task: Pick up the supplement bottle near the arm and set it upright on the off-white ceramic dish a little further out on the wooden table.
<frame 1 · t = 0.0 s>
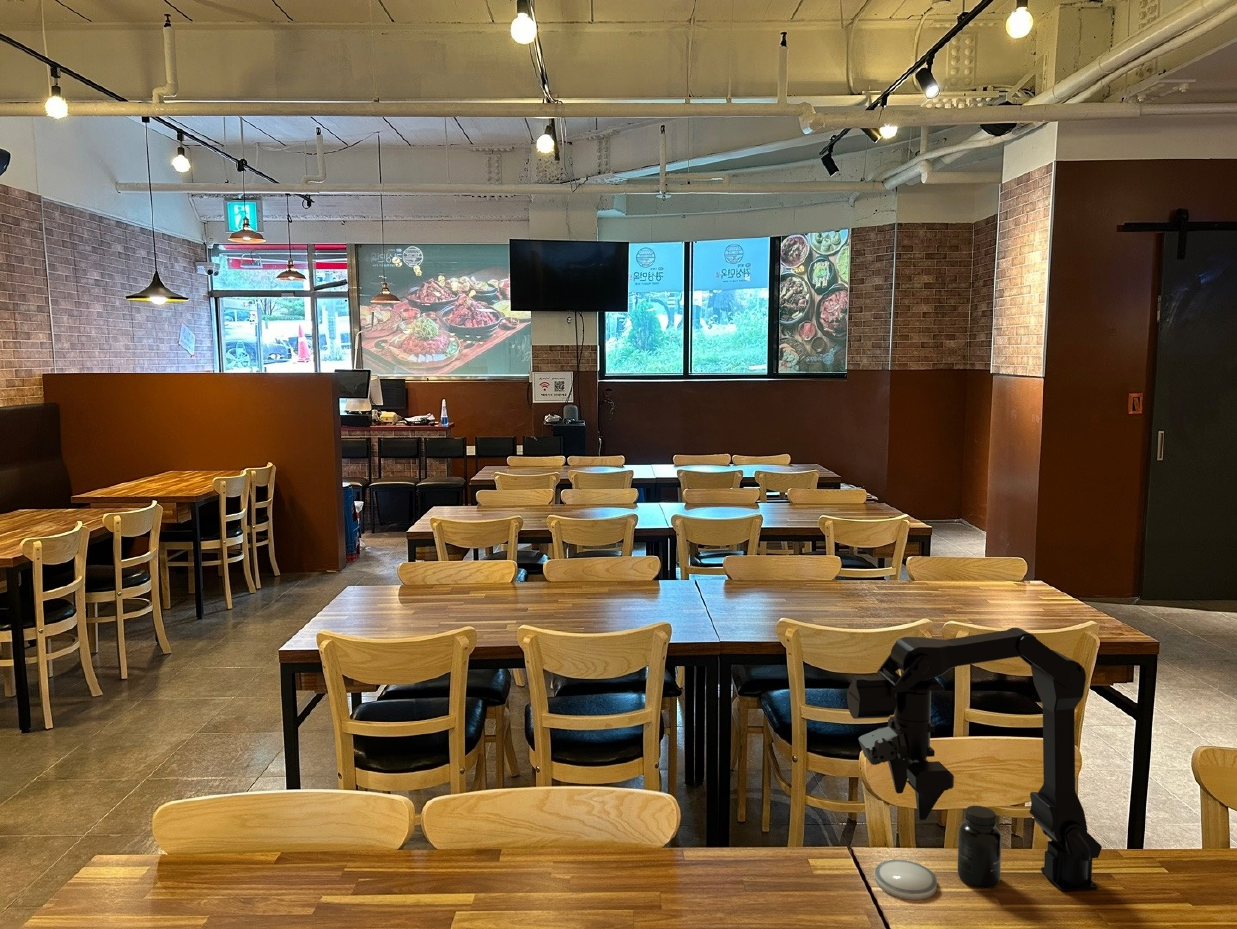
hand: (910, 806, 144), 15 cm above the table, tool pointing down, fingers open, 9 cm apart
supplement bottle: (978, 879, 148), on the table
dish: (905, 882, 147), on the table
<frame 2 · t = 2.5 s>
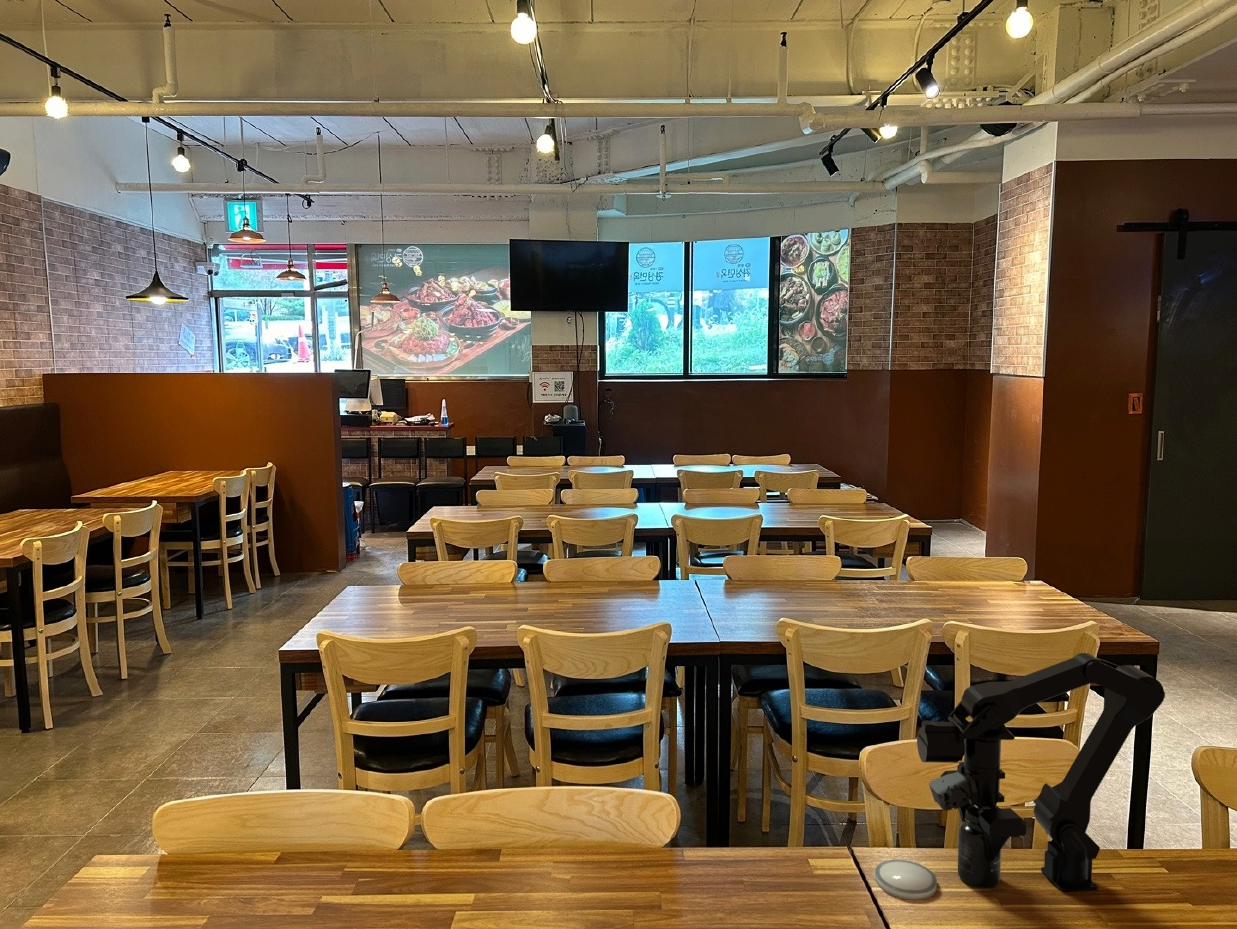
hand: (979, 849, 148), 5 cm above the table, tool pointing down, fingers closed on supplement bottle, 7 cm apart
supplement bottle: (978, 879, 148), on the table, touching gripper
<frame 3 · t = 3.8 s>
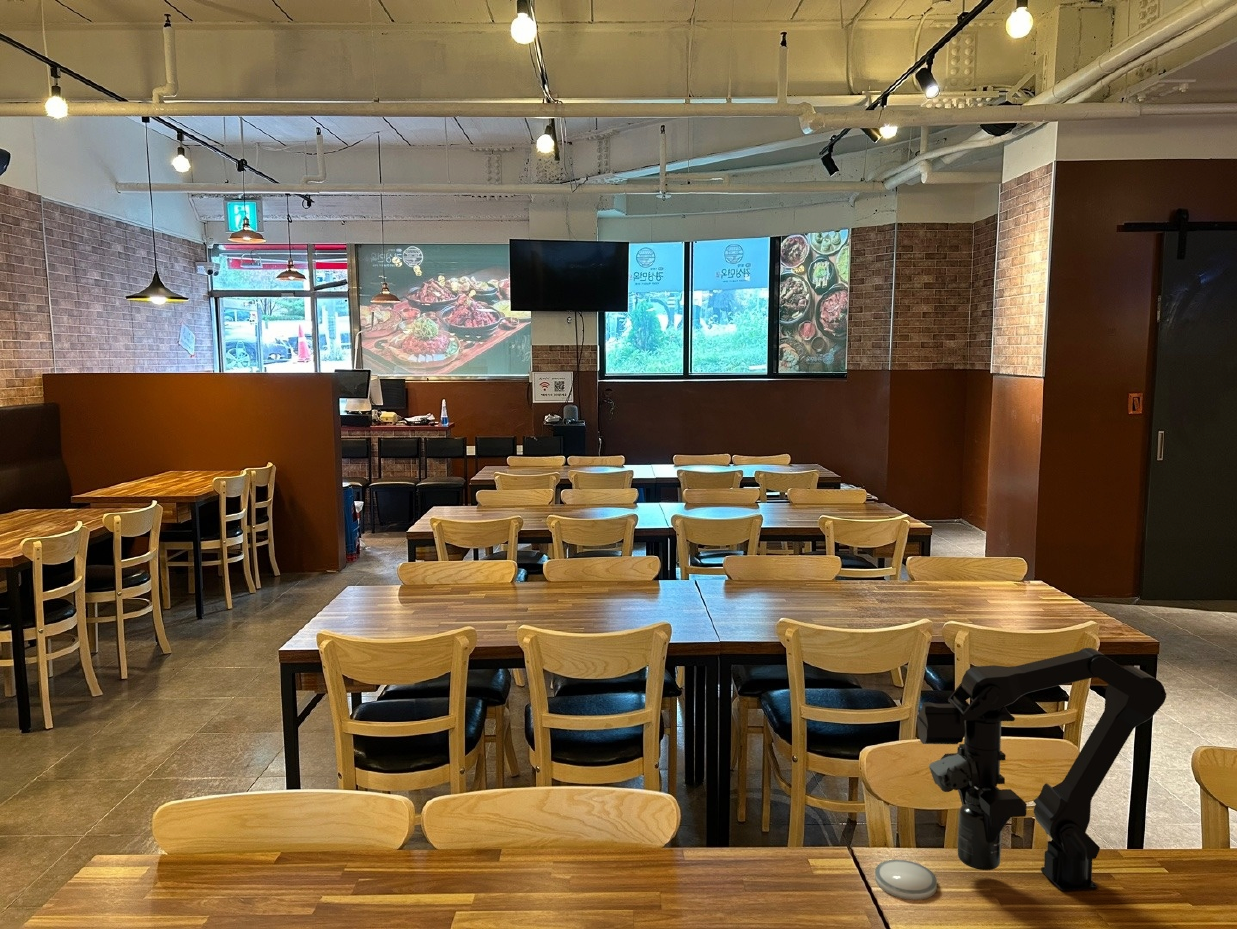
hand: (979, 831, 147), 8 cm above the table, tool pointing down, fingers closed on supplement bottle, 7 cm apart
supplement bottle: (978, 862, 148), point 3 cm above the table, touching gripper
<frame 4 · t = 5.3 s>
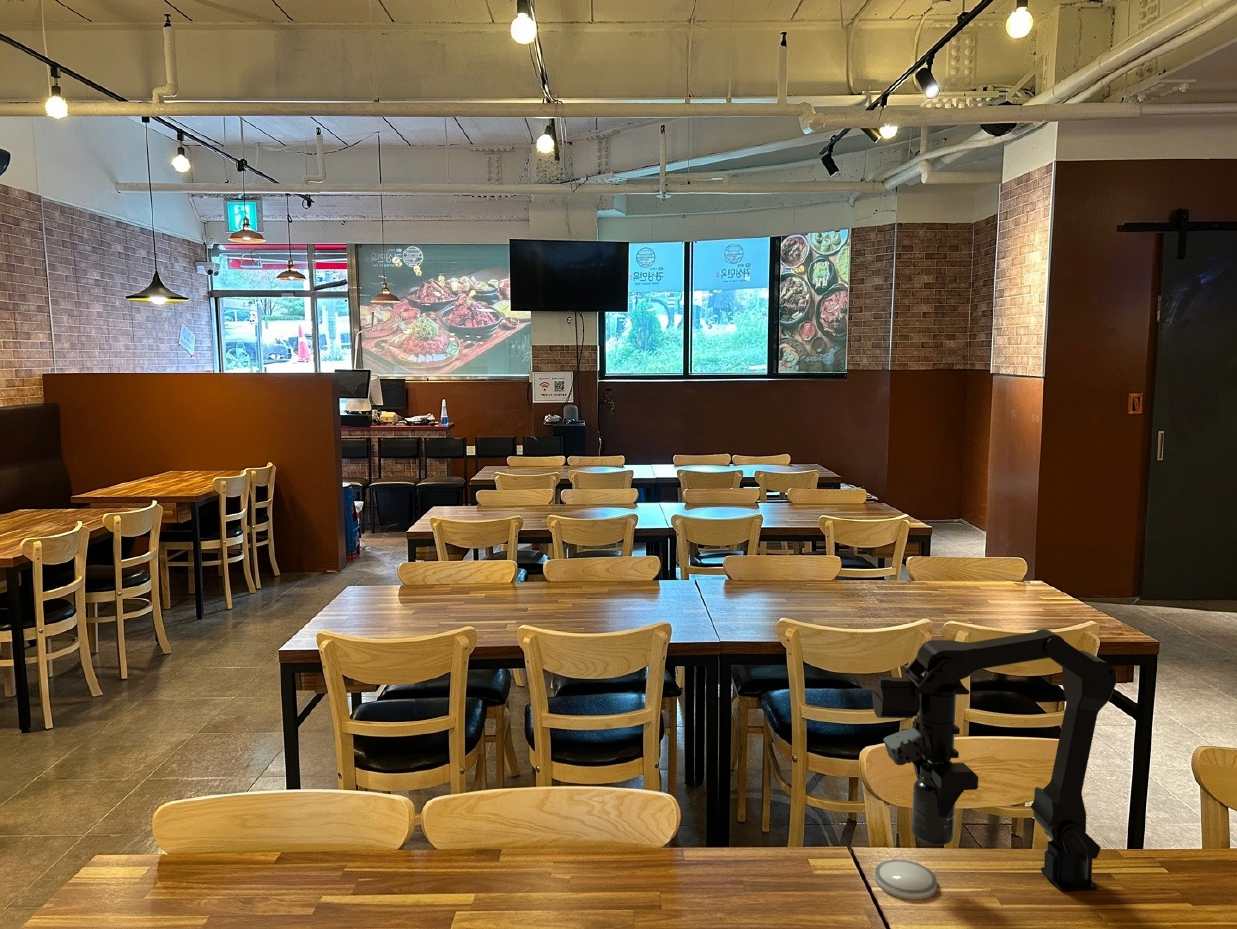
hand: (933, 806, 146), 13 cm above the table, tool pointing down, fingers closed on supplement bottle, 7 cm apart
supplement bottle: (932, 836, 147), point 8 cm above the table, touching gripper
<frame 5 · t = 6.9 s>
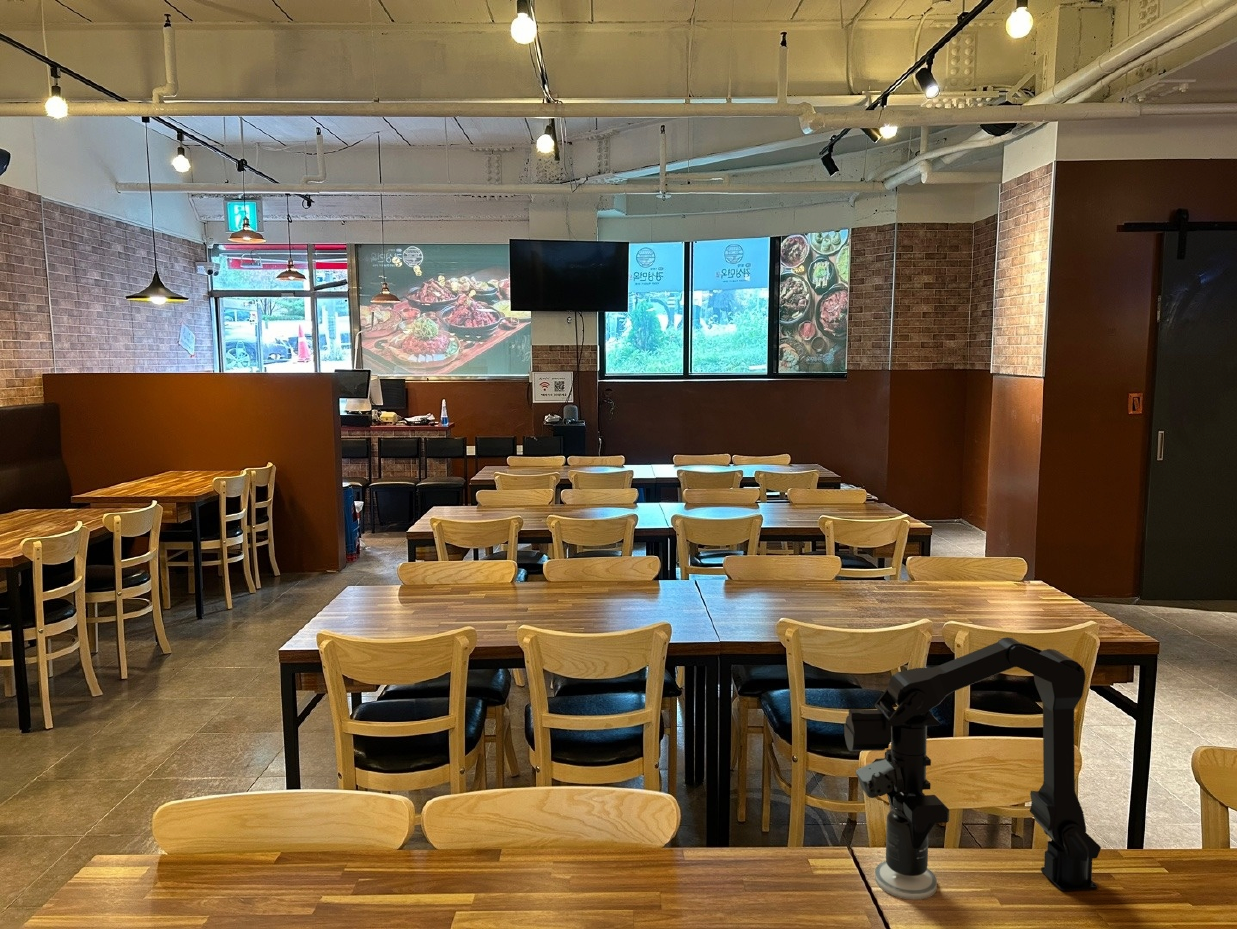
hand: (907, 837, 146), 8 cm above the table, tool pointing down, fingers closed on supplement bottle, 7 cm apart
supplement bottle: (906, 867, 147), point 3 cm above the table, touching gripper
when the fingers open (8 cm above the table, at t = 7.9 s): supplement bottle drops 1 cm, resting on dish.
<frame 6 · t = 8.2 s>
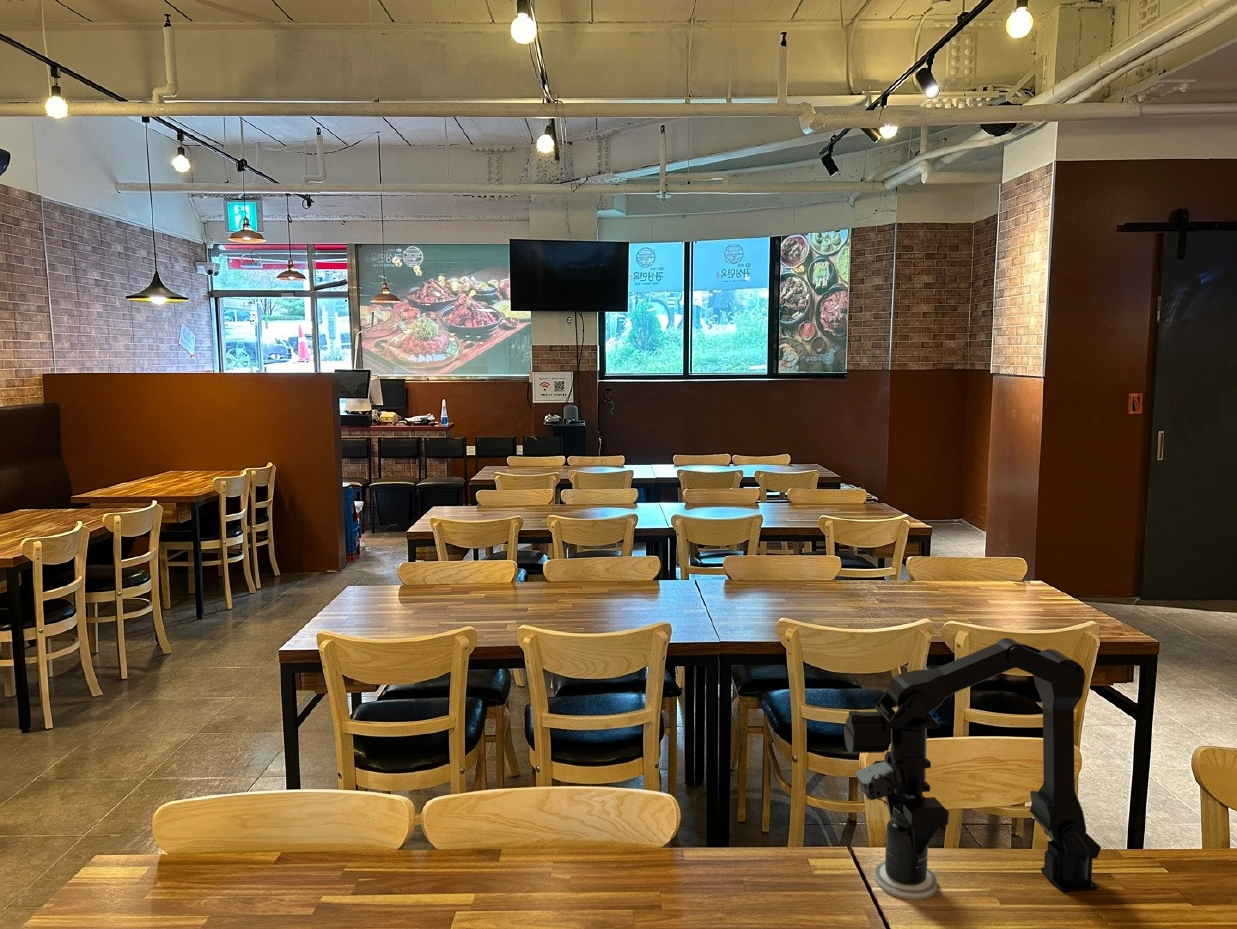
hand: (906, 839, 146), 8 cm above the table, tool pointing down, fingers open, 9 cm apart
supplement bottle: (905, 876, 147), point 1 cm above the table, touching dish
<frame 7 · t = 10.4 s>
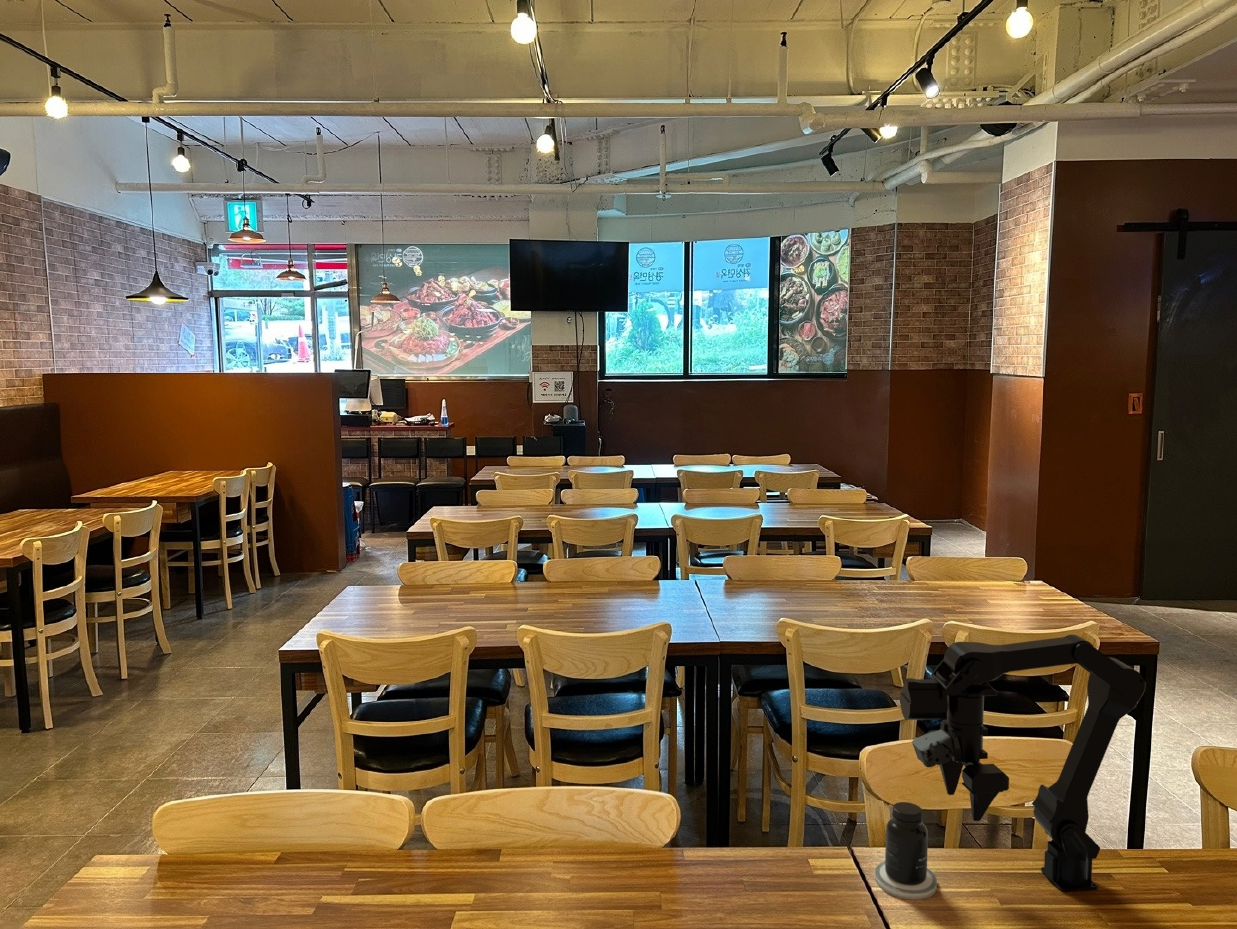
hand: (963, 807, 147), 13 cm above the table, tool pointing down, fingers open, 9 cm apart
nothing on the table moved.
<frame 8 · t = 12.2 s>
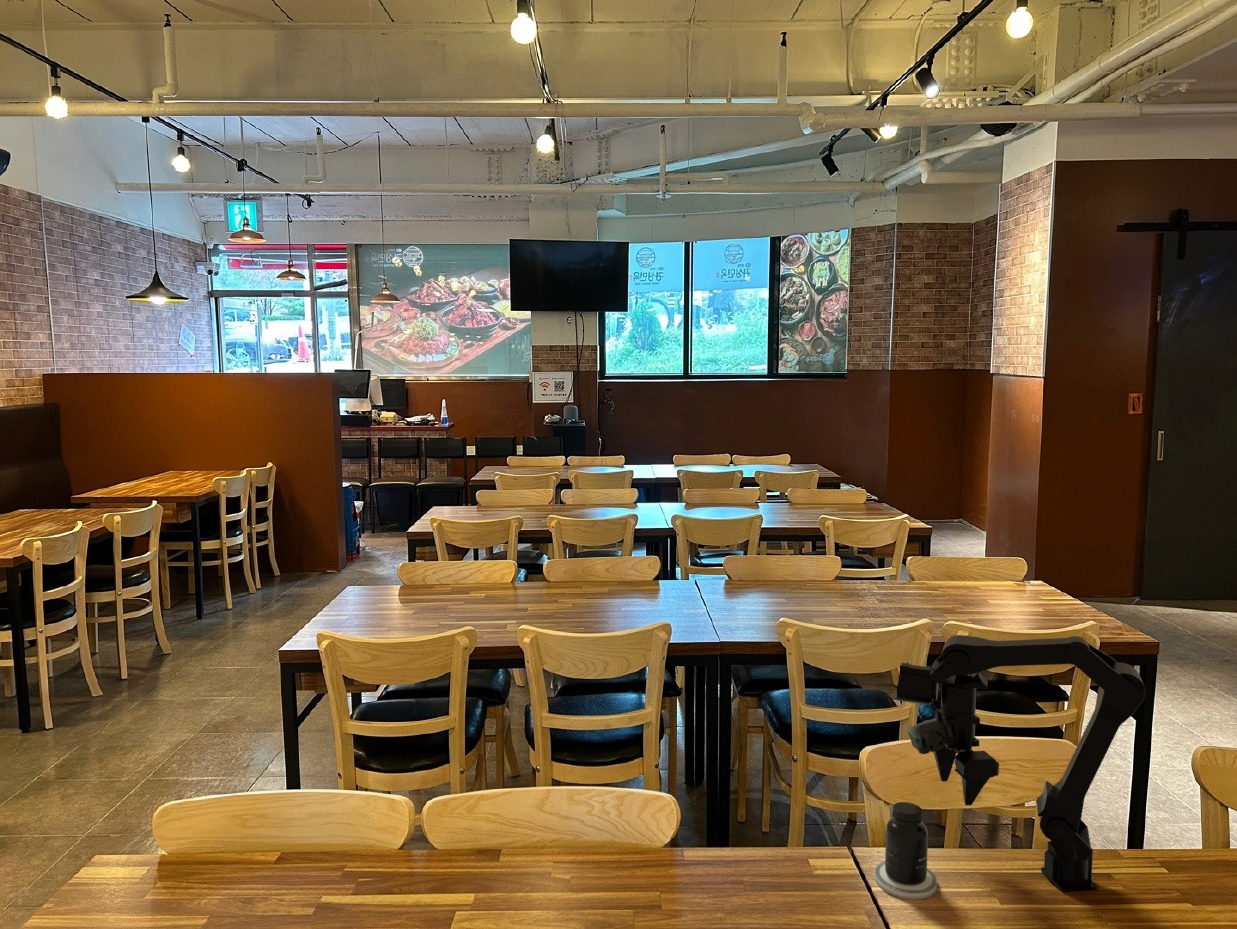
hand: (955, 792, 154), 12 cm above the table, tool pointing down, fingers open, 9 cm apart
nothing on the table moved.
at the end: supplement bottle 0.0 cm off-centre on the dish, point 1.0 cm above the dish's base; supplement bottle tilted 0°; the gripper is holding nothing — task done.
